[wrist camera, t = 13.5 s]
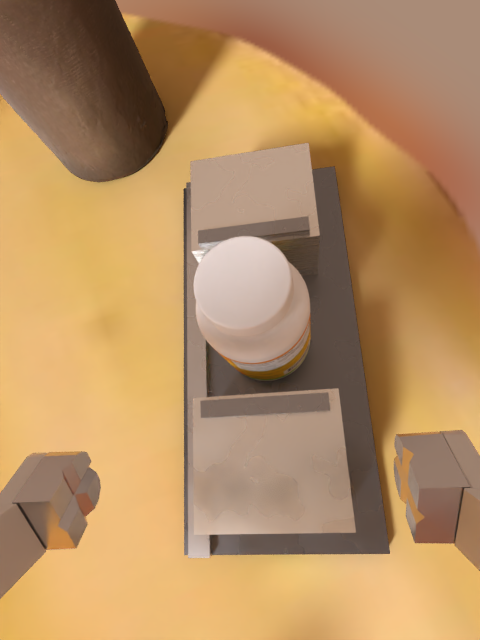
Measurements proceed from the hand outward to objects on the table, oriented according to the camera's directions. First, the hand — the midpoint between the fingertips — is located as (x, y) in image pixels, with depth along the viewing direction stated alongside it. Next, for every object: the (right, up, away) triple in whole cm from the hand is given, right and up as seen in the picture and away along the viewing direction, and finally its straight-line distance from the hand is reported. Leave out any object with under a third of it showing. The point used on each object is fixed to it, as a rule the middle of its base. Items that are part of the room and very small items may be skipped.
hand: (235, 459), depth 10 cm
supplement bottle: (+2, +2, +14) cm, 15 cm away
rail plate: (+2, +2, +15) cm, 15 cm away
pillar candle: (-11, +19, +23) cm, 32 cm away
